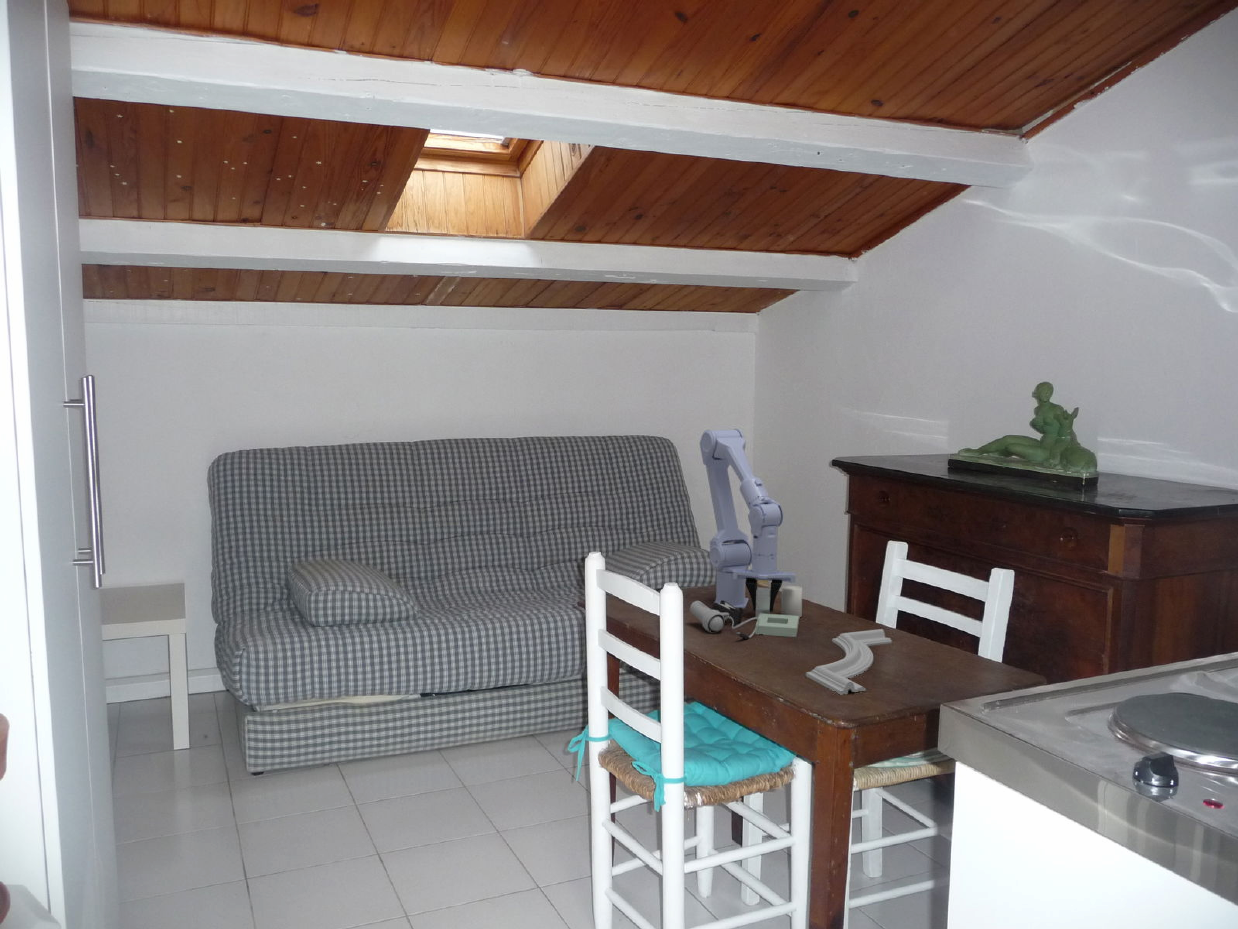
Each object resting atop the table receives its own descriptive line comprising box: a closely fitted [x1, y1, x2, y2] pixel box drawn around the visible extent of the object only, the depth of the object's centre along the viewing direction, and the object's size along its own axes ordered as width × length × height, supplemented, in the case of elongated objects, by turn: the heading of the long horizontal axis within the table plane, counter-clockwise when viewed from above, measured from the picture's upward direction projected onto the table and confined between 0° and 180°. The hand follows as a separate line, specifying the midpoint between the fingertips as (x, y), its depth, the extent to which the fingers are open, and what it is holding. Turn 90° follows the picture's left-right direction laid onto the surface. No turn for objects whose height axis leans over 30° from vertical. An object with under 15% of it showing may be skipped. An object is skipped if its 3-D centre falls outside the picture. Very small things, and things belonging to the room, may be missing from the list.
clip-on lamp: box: [689, 600, 759, 640], centre depth 223 cm, size 12×6×18 cm
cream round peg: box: [780, 584, 803, 619], centre depth 236 cm, size 5×5×7 cm
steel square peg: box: [755, 586, 771, 618], centre depth 234 cm, size 3×3×7 cm
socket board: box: [754, 613, 800, 638], centre depth 224 cm, size 11×9×2 cm
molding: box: [805, 628, 893, 696], centre depth 201 cm, size 42×12×3 cm, turn 157°
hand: (763, 610), depth 234 cm, fingers closed on steel square peg, 3 cm apart
